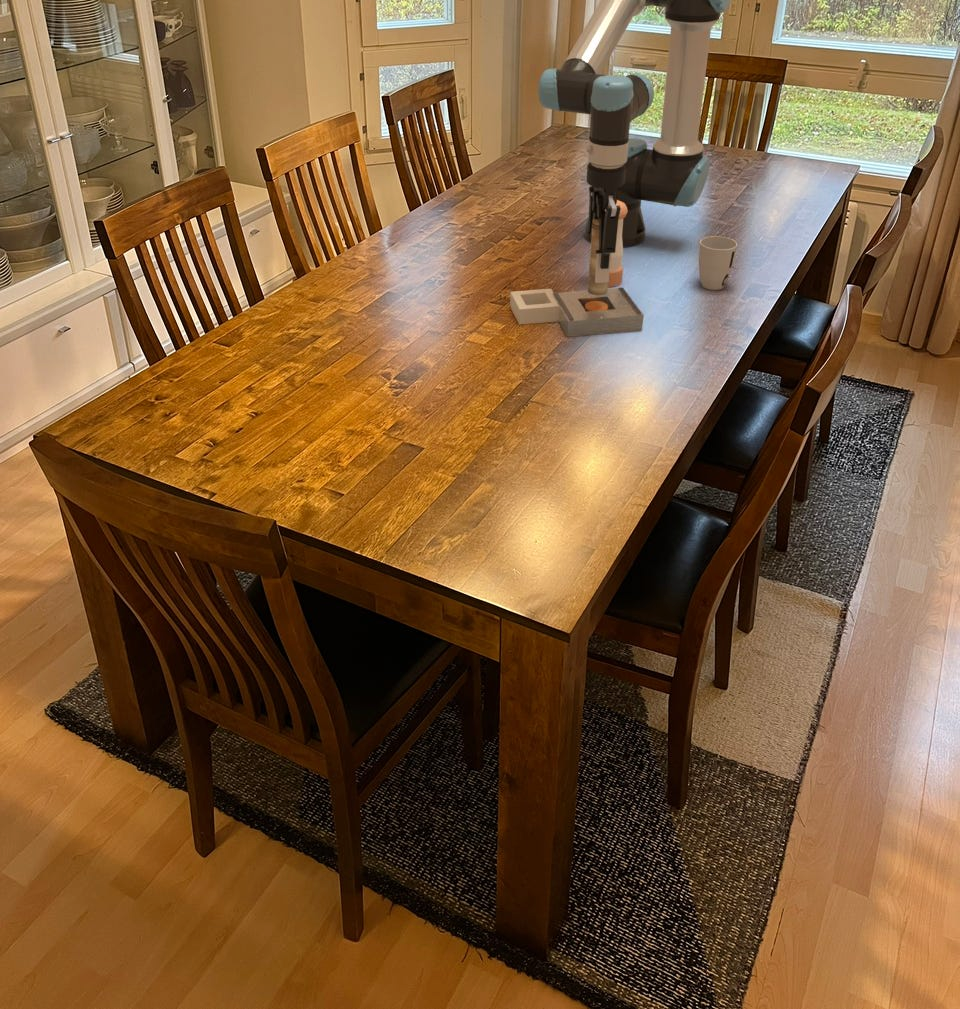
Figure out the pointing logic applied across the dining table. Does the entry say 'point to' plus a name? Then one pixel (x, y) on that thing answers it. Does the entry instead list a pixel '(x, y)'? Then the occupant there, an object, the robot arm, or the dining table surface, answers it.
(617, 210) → the robot arm
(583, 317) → the grey square frame
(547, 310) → the holder
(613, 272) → the salt shaker
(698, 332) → the dining table surface
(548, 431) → the dining table surface
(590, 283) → the brown wooden cylinder
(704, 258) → the cup
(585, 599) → the dining table surface
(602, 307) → the button
